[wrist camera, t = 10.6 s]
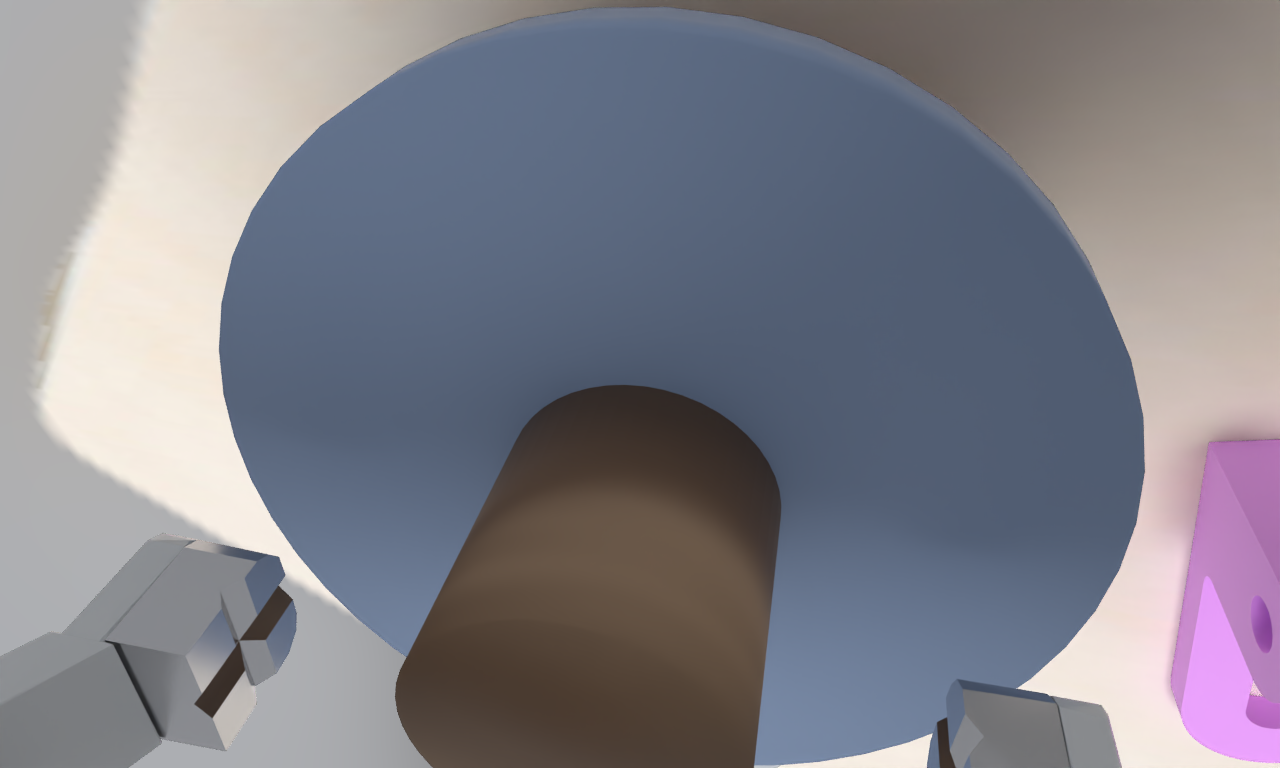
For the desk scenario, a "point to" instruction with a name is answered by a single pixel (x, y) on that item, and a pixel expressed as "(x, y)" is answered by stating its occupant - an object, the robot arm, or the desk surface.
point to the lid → (679, 395)
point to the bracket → (1233, 606)
